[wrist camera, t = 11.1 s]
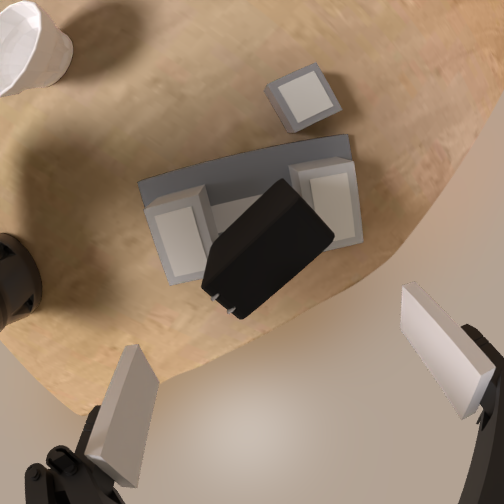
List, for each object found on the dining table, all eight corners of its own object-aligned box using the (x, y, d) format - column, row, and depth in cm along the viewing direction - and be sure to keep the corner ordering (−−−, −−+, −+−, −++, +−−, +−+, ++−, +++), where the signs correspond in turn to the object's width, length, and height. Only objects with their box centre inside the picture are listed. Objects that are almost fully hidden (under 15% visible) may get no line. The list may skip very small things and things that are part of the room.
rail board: (172, 278, 41) (160, 308, 34) (141, 180, 36) (118, 192, 29) (358, 236, 40) (381, 259, 33) (343, 133, 35) (368, 135, 27)
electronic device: (308, 205, 30) (338, 238, 21) (238, 270, 33) (239, 324, 23) (280, 176, 29) (300, 196, 20) (210, 244, 31) (198, 291, 22)
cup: (73, 5, 25) (33, -19, 15) (97, 66, 30) (52, 50, 19) (12, 57, 26) (-34, 49, 16) (31, 117, 31) (-20, 121, 21)
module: (287, 132, 35) (295, 132, 30) (263, 90, 33) (267, 84, 28) (329, 112, 34) (343, 109, 29) (306, 70, 32) (316, 61, 27)
